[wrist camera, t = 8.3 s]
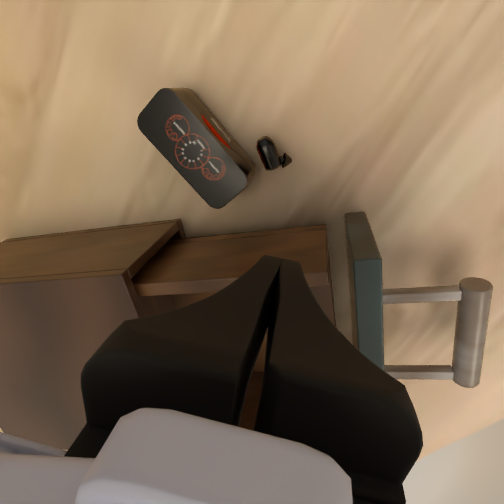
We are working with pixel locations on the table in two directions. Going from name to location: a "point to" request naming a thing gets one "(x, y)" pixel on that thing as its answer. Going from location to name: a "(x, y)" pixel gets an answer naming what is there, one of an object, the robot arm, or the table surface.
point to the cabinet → (64, 319)
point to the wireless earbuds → (202, 146)
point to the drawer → (316, 293)
